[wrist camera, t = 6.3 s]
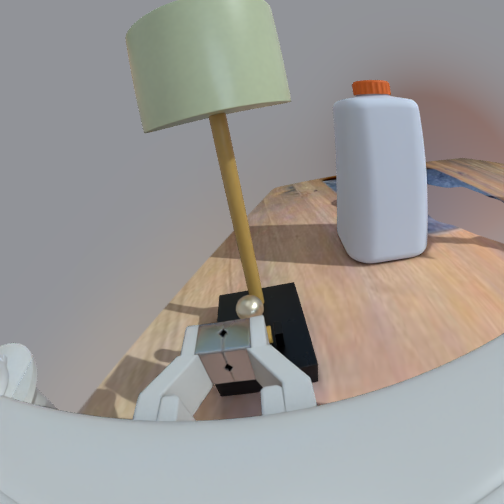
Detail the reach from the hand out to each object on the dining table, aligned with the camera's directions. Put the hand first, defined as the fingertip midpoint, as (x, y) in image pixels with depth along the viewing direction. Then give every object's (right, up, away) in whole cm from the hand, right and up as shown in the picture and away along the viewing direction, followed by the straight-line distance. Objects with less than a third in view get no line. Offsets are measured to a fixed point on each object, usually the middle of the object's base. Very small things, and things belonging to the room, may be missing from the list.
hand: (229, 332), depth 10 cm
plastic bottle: (+24, +5, +36) cm, 44 cm away
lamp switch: (+2, -5, +17) cm, 17 cm away
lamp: (+2, -7, +23) cm, 24 cm away
